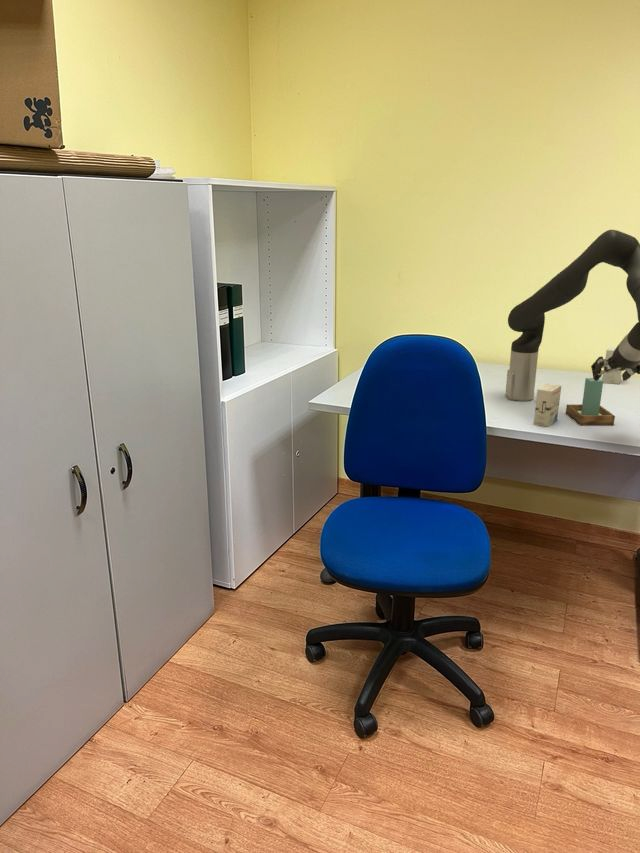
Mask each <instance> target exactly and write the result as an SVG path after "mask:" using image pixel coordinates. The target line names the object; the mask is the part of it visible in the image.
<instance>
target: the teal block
mask: <svg viewBox="0 0 640 853" xmlns="http://www.w3.org/2000/svg"><path fill="white" fill-rule="evenodd" d="M584 380H585V381H584V388H583V394H582V395H583V396H582V402H581V403H582V410H581V414H582V415H599V409H600V406H601V402H602V401H601V400H602V392H603V386H604V383H603V381H602V378H599V379H598V381H595V380H594V379H593V377H586V378H585V379H584Z"/></svg>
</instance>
